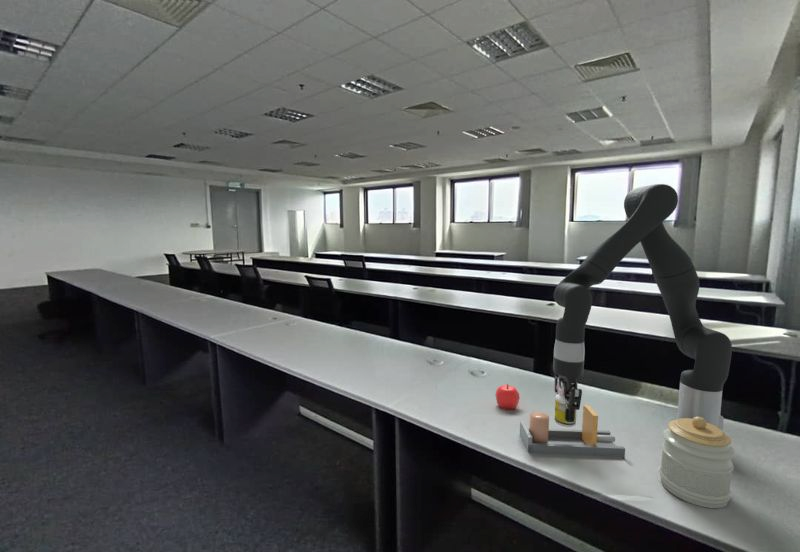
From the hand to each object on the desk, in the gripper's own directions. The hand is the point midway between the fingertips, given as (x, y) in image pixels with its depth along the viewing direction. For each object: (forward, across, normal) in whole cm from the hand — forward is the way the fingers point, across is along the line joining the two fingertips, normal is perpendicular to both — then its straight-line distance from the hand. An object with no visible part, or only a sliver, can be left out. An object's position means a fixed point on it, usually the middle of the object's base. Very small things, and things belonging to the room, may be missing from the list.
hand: (565, 415), depth 104 cm
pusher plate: (+8, 0, -10) cm, 13 cm away
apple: (+9, +24, +10) cm, 28 cm away
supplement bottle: (+2, 0, 0) cm, 2 cm away
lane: (+9, 0, -2) cm, 9 cm away
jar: (+9, -16, -24) cm, 30 cm away
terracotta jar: (+8, 0, +7) cm, 11 cm away
